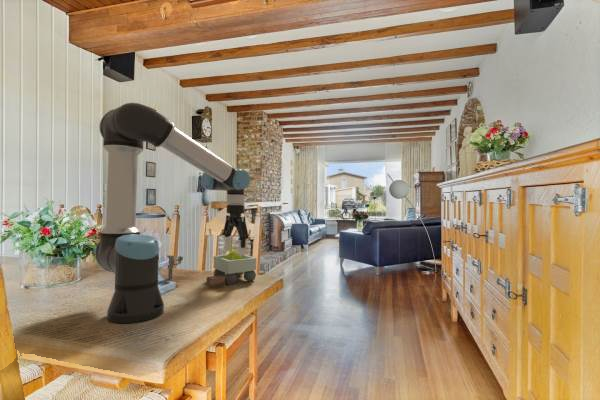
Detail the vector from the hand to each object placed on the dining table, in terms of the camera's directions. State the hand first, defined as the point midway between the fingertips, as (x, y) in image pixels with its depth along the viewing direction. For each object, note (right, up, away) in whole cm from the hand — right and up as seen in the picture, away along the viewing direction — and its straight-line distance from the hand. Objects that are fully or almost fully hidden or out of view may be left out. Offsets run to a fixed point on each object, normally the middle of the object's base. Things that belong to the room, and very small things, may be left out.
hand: (234, 253), depth 140 cm
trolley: (0, -12, 0) cm, 12 cm away
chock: (-5, -12, -11) cm, 17 cm away
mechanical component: (-29, -12, +1) cm, 31 cm away
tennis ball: (0, -6, 0) cm, 6 cm away
